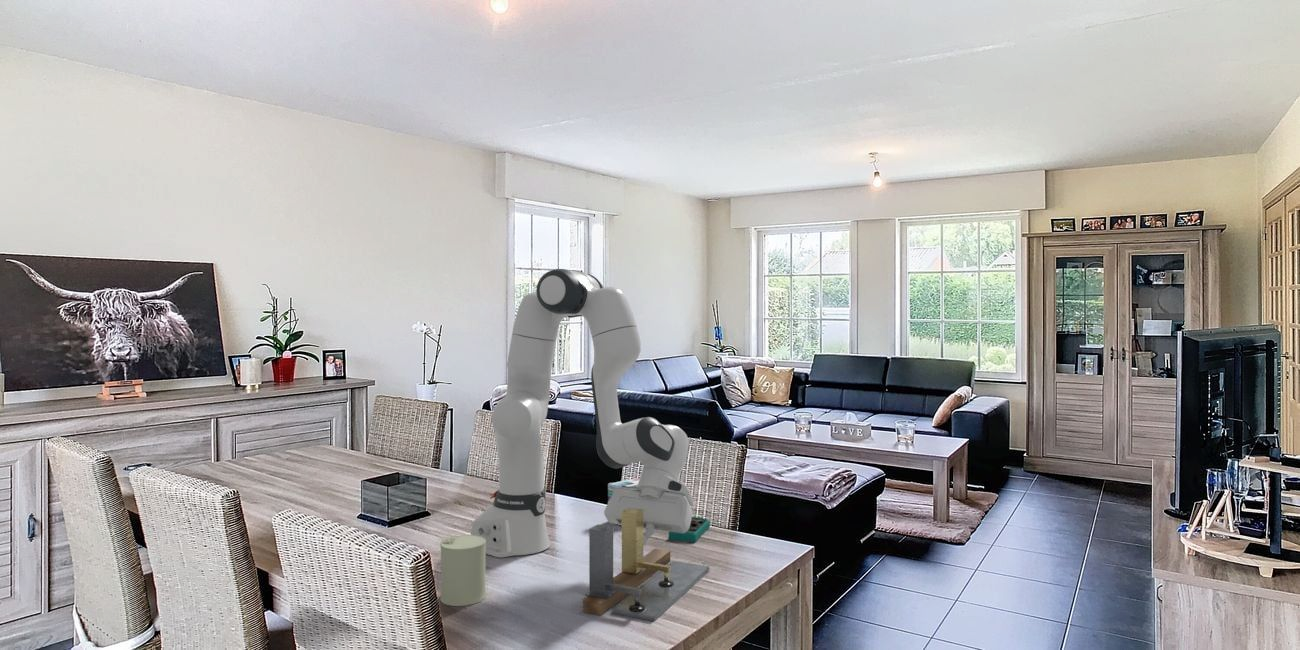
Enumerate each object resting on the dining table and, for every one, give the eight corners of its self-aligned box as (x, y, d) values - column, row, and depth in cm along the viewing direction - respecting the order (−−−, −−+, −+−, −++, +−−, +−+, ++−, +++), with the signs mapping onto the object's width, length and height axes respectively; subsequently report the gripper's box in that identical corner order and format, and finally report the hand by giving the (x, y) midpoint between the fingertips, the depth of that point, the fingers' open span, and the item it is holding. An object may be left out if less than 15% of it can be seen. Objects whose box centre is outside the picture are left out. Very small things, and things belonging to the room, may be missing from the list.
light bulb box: (621, 526, 201) (621, 487, 200) (606, 521, 206) (606, 483, 206) (651, 519, 208) (651, 481, 207) (635, 514, 213) (635, 477, 213)
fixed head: (585, 600, 146) (585, 529, 145) (596, 592, 150) (596, 523, 149) (635, 610, 141) (635, 536, 141) (645, 601, 145) (645, 530, 145)
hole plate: (612, 613, 143) (612, 607, 143) (672, 564, 171) (672, 559, 171) (654, 621, 140) (654, 615, 140) (709, 570, 167) (709, 565, 167)
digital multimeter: (710, 528, 201) (710, 517, 201) (695, 544, 187) (695, 533, 187) (685, 525, 203) (685, 515, 203) (667, 541, 189) (667, 530, 189)
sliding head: (621, 576, 158) (621, 511, 158) (629, 571, 162) (629, 507, 161) (666, 584, 154) (666, 517, 154) (672, 579, 157) (672, 513, 157)
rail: (582, 612, 144) (582, 599, 144) (655, 558, 175) (655, 548, 175) (600, 615, 142) (600, 602, 142) (670, 561, 173) (670, 550, 173)
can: (445, 589, 156) (444, 533, 155) (489, 588, 156) (489, 532, 156) (436, 607, 146) (435, 547, 146) (483, 605, 147) (482, 546, 147)
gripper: (611, 477, 172) (591, 530, 164) (692, 486, 164) (675, 542, 155) (620, 492, 177) (601, 544, 168) (700, 501, 168) (683, 557, 159)
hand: (637, 543), depth 161 cm, fingers closed, pressing on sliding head
